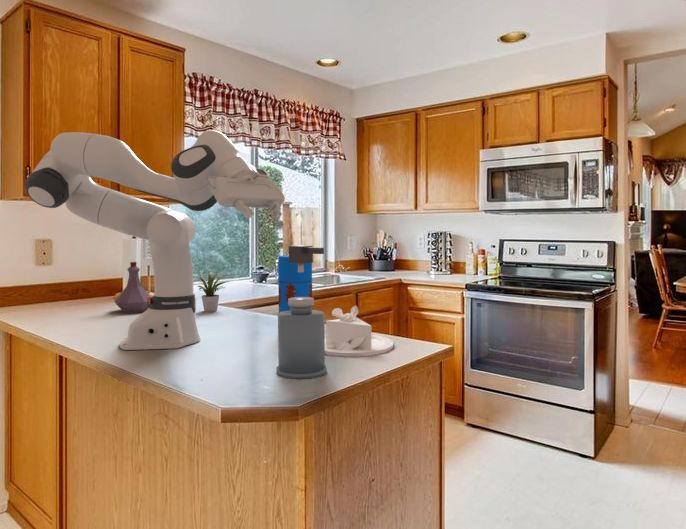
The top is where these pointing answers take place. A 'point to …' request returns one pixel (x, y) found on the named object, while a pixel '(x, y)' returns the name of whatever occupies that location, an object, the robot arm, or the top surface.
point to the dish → (353, 336)
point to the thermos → (292, 281)
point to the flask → (133, 293)
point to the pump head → (303, 255)
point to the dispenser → (301, 340)
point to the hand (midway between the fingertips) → (264, 216)
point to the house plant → (210, 293)
